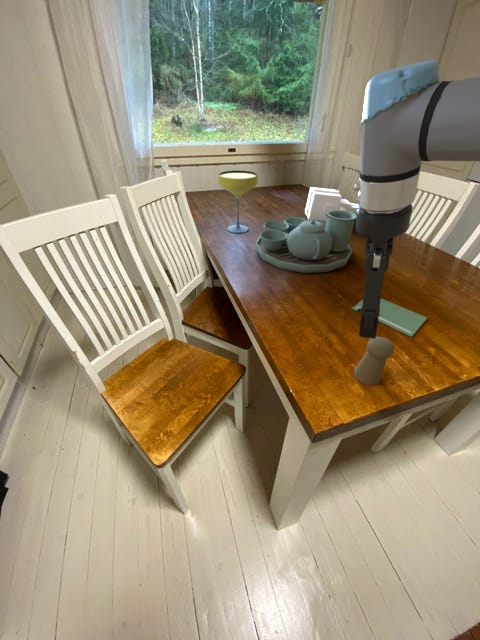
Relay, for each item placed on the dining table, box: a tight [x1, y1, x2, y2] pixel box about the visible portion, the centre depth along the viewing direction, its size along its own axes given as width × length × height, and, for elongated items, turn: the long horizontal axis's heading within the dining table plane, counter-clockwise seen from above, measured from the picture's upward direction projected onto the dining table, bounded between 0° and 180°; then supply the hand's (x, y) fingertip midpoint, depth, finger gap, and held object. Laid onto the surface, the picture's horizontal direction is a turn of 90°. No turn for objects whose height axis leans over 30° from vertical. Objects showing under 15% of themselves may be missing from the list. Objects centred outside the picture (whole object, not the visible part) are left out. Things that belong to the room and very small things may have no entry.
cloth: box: [351, 298, 428, 338], centre depth 84 cm, size 18×12×1 cm, turn 43°
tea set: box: [255, 210, 357, 274], centre depth 112 cm, size 40×40×16 cm
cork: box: [353, 336, 395, 387], centre depth 61 cm, size 6×6×11 cm
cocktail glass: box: [217, 170, 259, 234], centre depth 130 cm, size 18×18×25 cm
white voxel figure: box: [304, 186, 359, 221], centre depth 148 cm, size 15×25×28 cm
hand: (370, 312), depth 54 cm, fingers open, 13 cm apart
